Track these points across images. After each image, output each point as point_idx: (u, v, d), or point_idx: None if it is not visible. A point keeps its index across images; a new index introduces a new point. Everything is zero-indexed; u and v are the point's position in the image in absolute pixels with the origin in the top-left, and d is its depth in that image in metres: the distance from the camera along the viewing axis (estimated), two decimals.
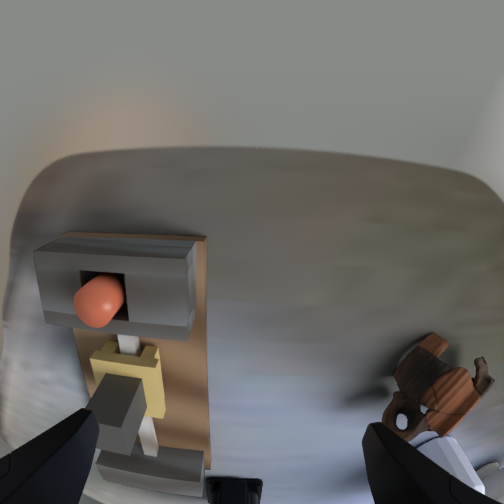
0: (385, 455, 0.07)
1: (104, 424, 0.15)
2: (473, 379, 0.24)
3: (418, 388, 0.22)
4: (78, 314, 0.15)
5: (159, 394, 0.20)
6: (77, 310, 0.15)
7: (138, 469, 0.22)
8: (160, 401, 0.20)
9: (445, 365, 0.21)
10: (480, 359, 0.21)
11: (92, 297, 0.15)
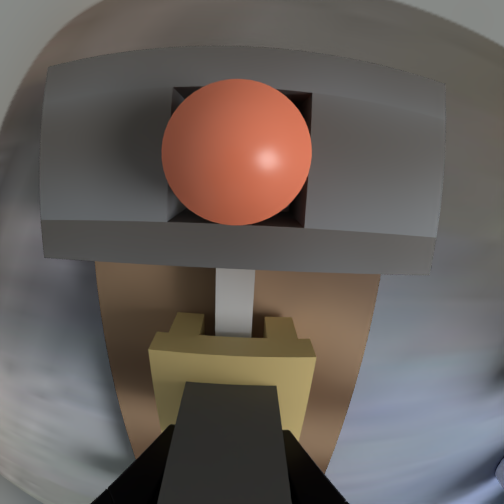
0: None
1: None
2: None
3: None
4: (176, 179, 0.05)
5: None
6: (173, 166, 0.05)
7: None
8: None
9: None
10: None
11: (248, 111, 0.05)
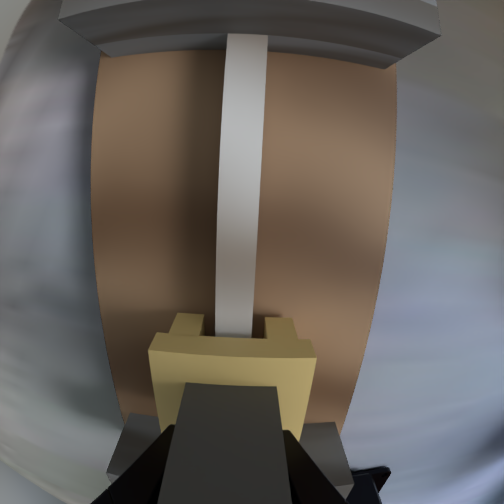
0: None
1: None
2: None
3: None
4: None
5: None
6: None
7: None
8: None
9: None
10: None
11: None
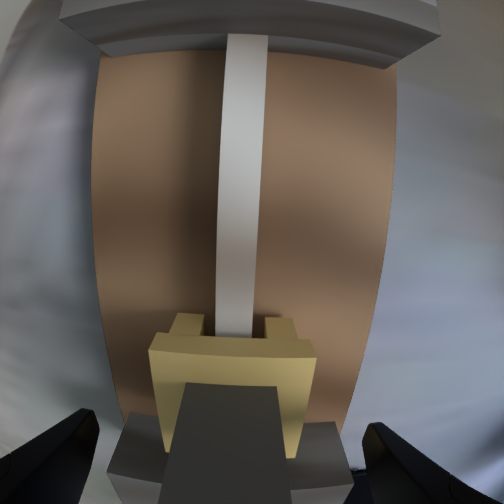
0: (385, 455, 0.07)
1: None
2: None
3: None
4: None
5: None
6: None
7: None
8: None
9: None
10: None
11: None
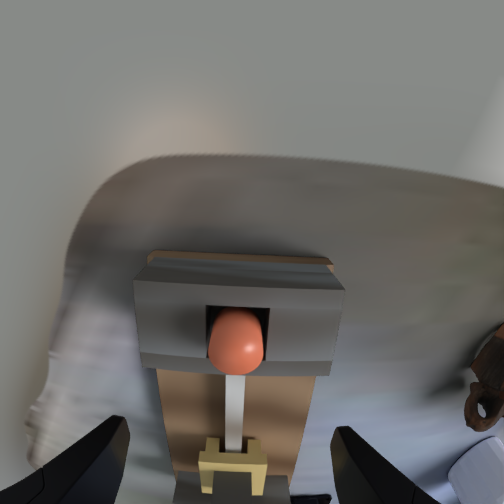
0: (349, 461, 0.07)
1: None
2: None
3: (498, 375, 0.19)
4: (214, 361, 0.13)
5: None
6: (212, 357, 0.13)
7: None
8: (263, 484, 0.20)
9: None
10: None
11: (239, 341, 0.13)
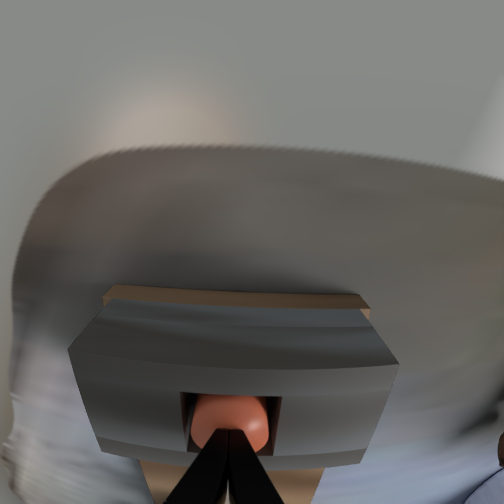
0: (228, 466, 0.07)
1: None
2: None
3: None
4: (200, 443, 0.09)
5: None
6: (197, 438, 0.09)
7: None
8: None
9: None
10: None
11: (234, 422, 0.08)
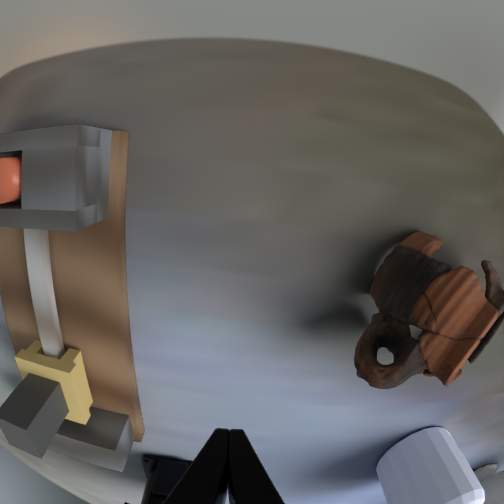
0: (228, 466, 0.07)
1: (12, 424, 0.12)
2: None
3: (404, 300, 0.17)
4: None
5: (78, 400, 0.17)
6: None
7: None
8: (80, 407, 0.17)
9: (440, 263, 0.16)
10: (489, 262, 0.15)
11: (2, 168, 0.12)
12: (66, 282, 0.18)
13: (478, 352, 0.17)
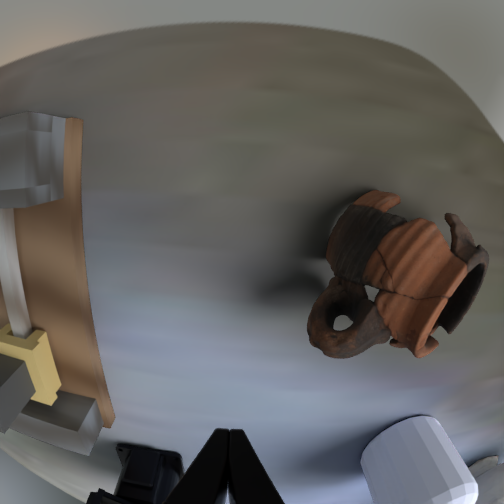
0: (228, 466, 0.07)
1: None
2: None
3: (357, 258, 0.16)
4: None
5: (42, 379, 0.17)
6: None
7: None
8: (45, 387, 0.17)
9: (393, 216, 0.15)
10: (455, 215, 0.15)
11: None
12: (31, 264, 0.18)
13: (457, 321, 0.17)
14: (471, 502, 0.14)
